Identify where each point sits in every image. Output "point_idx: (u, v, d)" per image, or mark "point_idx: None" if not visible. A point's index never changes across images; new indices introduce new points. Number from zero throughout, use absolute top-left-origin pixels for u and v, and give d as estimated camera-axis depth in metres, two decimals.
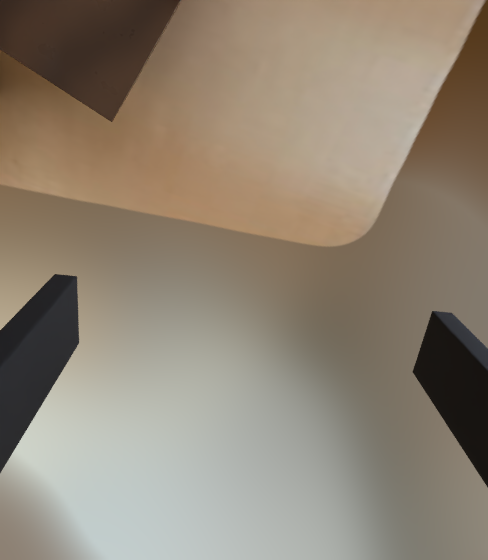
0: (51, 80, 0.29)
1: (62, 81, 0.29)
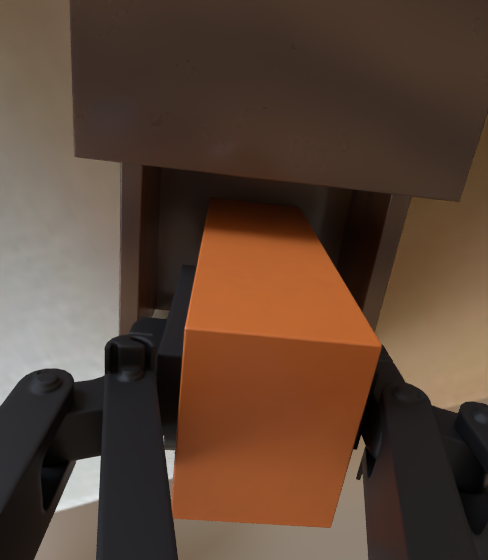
0: None
1: None
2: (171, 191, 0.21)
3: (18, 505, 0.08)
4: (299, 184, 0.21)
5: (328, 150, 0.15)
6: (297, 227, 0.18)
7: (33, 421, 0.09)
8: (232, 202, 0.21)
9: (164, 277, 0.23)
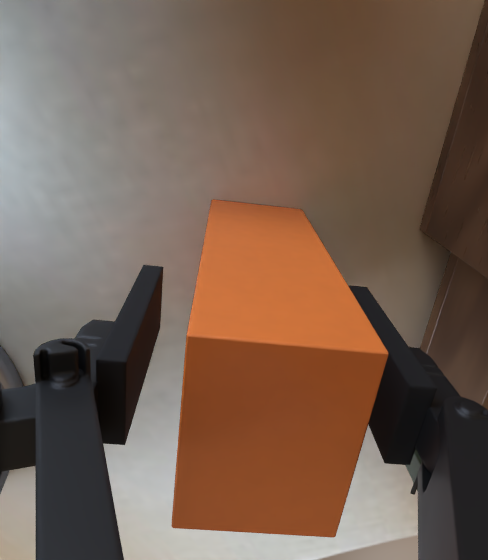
0: None
1: None
2: None
3: None
4: None
5: None
6: (300, 230, 0.18)
7: None
8: (234, 204, 0.21)
9: None
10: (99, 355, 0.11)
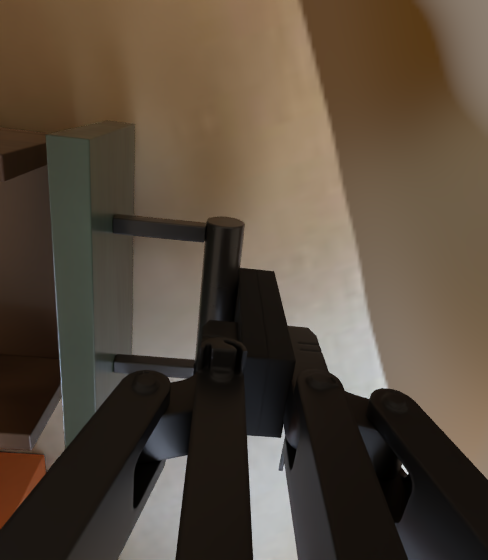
0: None
1: None
2: None
3: (112, 501, 0.08)
4: None
5: None
6: None
7: (132, 420, 0.09)
8: None
9: (31, 348, 0.21)
10: None
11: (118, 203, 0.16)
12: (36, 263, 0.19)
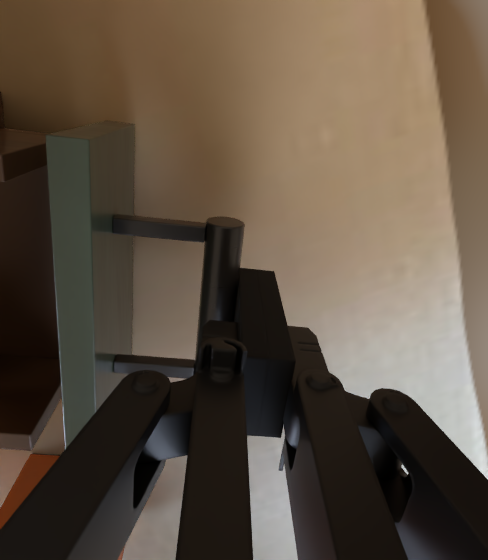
0: None
1: None
2: None
3: (112, 501, 0.08)
4: None
5: None
6: None
7: (132, 420, 0.09)
8: None
9: (31, 348, 0.21)
10: None
11: (118, 203, 0.16)
12: (36, 264, 0.19)
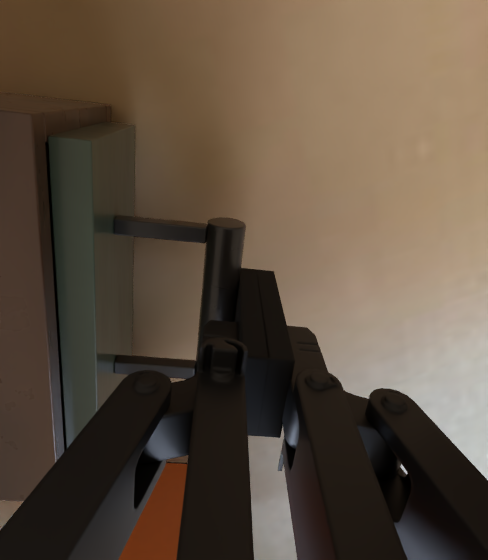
0: None
1: None
2: None
3: (113, 501, 0.08)
4: None
5: (1, 292, 0.13)
6: None
7: (133, 420, 0.09)
8: None
9: None
10: None
11: (119, 204, 0.16)
12: None
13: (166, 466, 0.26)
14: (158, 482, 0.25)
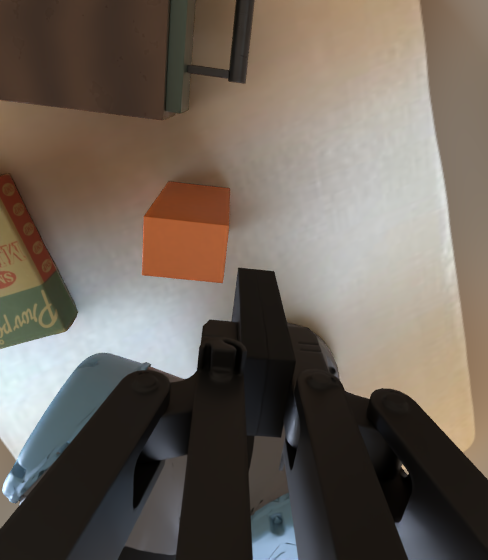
0: None
1: None
2: None
3: (112, 501, 0.08)
4: None
5: None
6: None
7: (131, 420, 0.09)
8: None
9: None
10: None
11: None
12: None
13: (204, 186, 0.42)
14: (200, 188, 0.41)
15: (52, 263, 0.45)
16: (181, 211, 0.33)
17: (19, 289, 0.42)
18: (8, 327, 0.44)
